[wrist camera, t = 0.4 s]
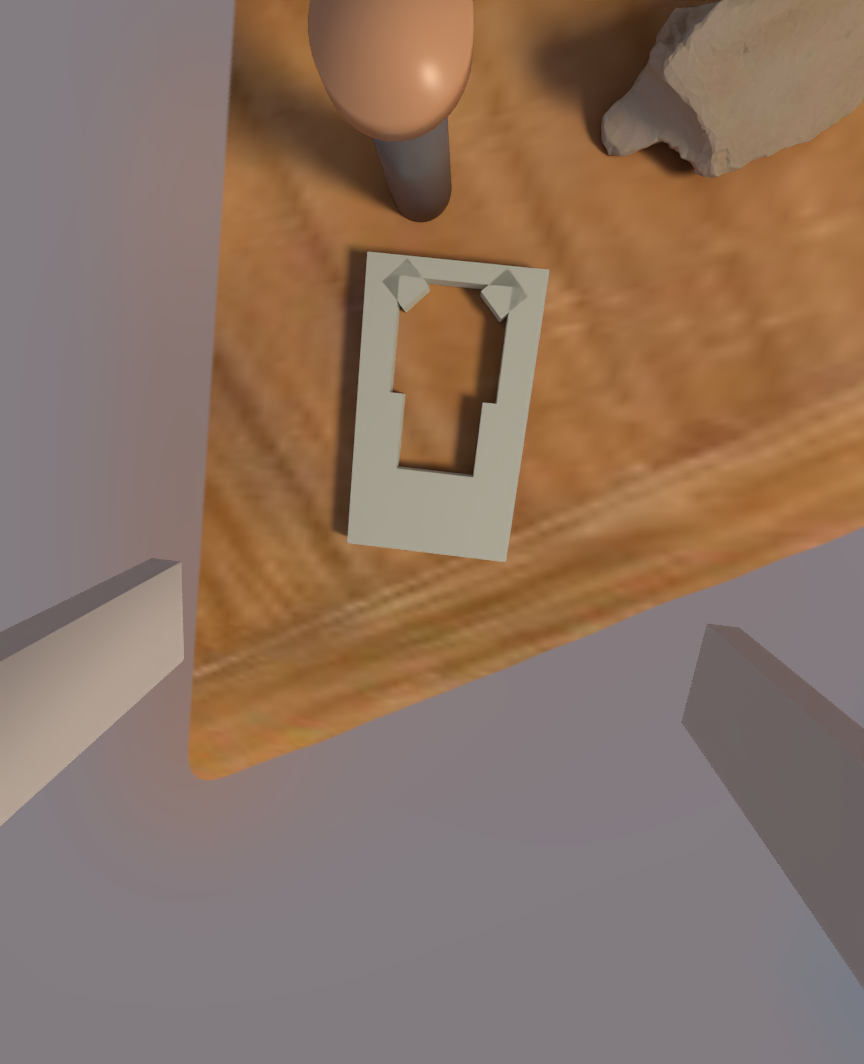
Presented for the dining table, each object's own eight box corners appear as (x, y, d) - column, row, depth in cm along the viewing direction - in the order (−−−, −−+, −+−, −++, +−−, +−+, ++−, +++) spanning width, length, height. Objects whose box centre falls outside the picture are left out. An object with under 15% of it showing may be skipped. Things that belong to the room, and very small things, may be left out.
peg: (377, 128, 33) (312, -87, 19) (475, 137, 32) (484, -73, 18) (370, 237, 34) (304, 114, 20) (463, 246, 34) (462, 129, 20)
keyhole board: (371, 258, 34) (367, 251, 33) (545, 275, 34) (549, 269, 33) (351, 537, 39) (347, 542, 38) (504, 556, 39) (505, 562, 37)
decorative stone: (586, 96, 32) (627, -10, 24) (823, -24, 29) (956, -185, 22) (627, 229, 33) (678, 171, 25) (855, 123, 31) (989, 23, 23)
